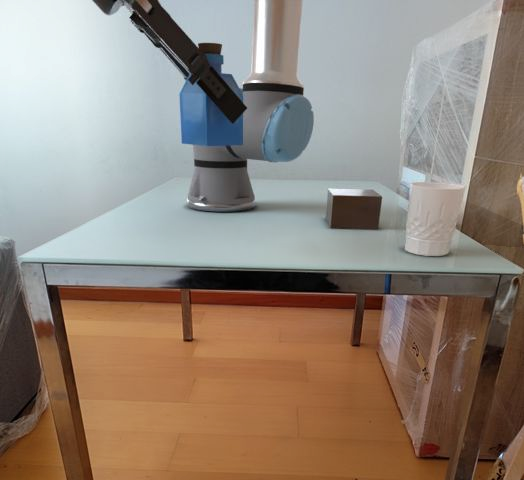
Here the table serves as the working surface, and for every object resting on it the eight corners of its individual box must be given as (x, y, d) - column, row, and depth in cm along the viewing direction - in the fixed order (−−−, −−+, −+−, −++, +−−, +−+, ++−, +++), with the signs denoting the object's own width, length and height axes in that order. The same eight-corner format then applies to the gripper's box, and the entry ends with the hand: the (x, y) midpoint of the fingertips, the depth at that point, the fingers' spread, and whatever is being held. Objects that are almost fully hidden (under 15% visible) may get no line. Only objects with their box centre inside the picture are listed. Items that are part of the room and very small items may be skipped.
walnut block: (325, 219, 98) (327, 188, 95) (369, 220, 98) (373, 189, 95) (330, 228, 90) (333, 195, 87) (378, 229, 90) (382, 196, 87)
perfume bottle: (181, 143, 68) (176, 43, 62) (217, 142, 71) (215, 48, 66) (207, 146, 63) (204, 39, 58) (243, 145, 67) (243, 44, 62)
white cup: (462, 256, 73) (476, 188, 69) (415, 258, 72) (426, 189, 67) (435, 244, 80) (447, 181, 75) (392, 245, 78) (401, 181, 74)
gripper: (93, 5, 67) (210, 133, 76) (64, -36, 48) (224, 140, 58) (128, -39, 65) (243, 97, 75) (112, -100, 46) (269, 91, 56)
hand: (235, 115), depth 66 cm, fingers closed on perfume bottle, 8 cm apart
